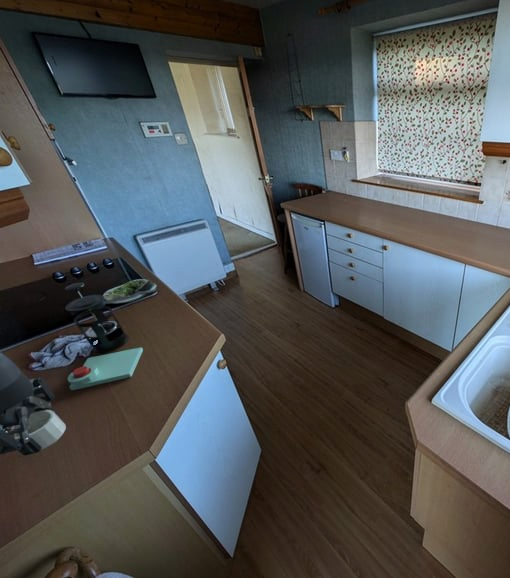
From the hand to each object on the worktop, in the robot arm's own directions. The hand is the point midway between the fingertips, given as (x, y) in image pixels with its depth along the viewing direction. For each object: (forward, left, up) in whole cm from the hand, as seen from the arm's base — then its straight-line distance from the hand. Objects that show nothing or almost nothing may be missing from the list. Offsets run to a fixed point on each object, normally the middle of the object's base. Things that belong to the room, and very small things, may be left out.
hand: (44, 436), depth 61 cm
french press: (-6, +44, -10) cm, 45 cm away
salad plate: (-9, +78, -10) cm, 79 cm away
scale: (-2, +30, -10) cm, 32 cm away
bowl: (0, 0, -1) cm, 1 cm away
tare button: (-6, +27, -7) cm, 29 cm away
